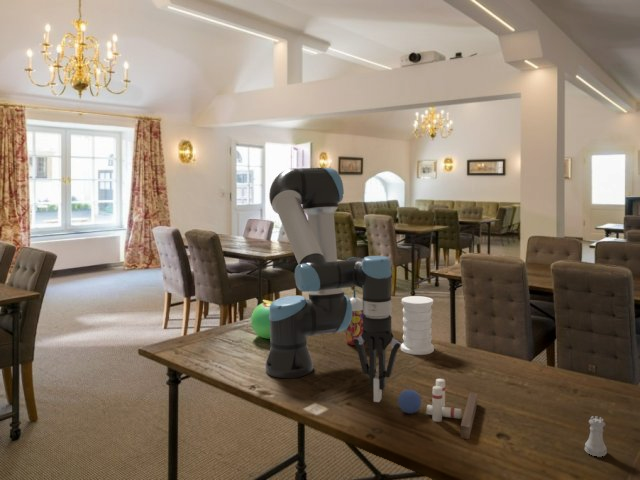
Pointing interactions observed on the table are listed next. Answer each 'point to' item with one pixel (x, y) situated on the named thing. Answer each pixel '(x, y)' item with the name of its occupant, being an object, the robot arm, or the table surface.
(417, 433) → the table surface
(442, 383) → the pin
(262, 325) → the toy bird
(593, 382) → the table surface
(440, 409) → the pin
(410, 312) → the decorative container
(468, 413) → the back wall
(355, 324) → the smoothie
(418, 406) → the ball
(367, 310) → the robot arm
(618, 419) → the table surface
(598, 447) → the rook chess piece
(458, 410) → the front pin
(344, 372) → the table surface
